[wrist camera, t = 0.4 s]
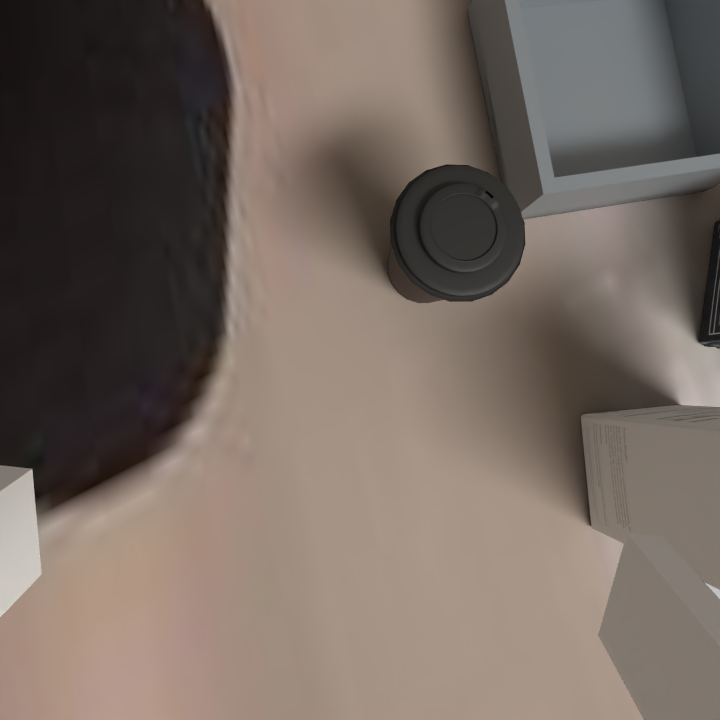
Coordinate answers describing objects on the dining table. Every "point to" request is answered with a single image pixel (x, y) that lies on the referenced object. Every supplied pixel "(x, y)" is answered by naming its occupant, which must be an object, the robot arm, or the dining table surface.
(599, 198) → the bin
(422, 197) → the coffee cup
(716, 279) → the small box
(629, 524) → the supplement box
